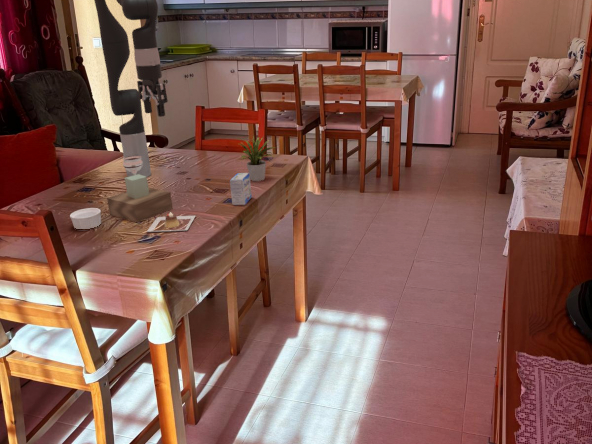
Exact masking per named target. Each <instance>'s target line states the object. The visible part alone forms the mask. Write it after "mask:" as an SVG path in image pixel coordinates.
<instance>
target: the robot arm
mask: <svg viewBox="0 0 592 444" xmlns="http://www.w3.org/2000/svg"><path fill="white" fill-rule="evenodd" d="M116 2H117V3H118V4H119V5H120V6H121V9H122V14H123V16H124V17H125V19H127V20H130V21H140V20H141V21H142V20H145V22H144V24H143V26H140V27H137V28H133V30H132V33H131V34H132V35H131V36H132V37H131V38H132V41H133V42H132V43H133V49H134V51H133V52H134V63H135V69H136V74H137V79H138V80H137V81H136V82H137V89H136V88H129V89H119V82H120V78H121V75H122V74H123V71H124V69H125V68H126V65H127V63H128V61H129V58H130V54H131V51H130V41H129V37H128V33H127V31H126V30H125V28H124V27H123V26H122V24H120V22H119V21H118V20H117V18H115V16H114V15H113V13H112V12H111V11H110V9H109V7H108V5H107V1H106V0H94V5H95V10H96V14H97V19H98V25H99V26H98V27H99V34H100V35H99V36H100V41H101V47H102V54H103V58H104V63H105V69H106V74H107V81H108V91H109V100H110V107H111V110H112V114H114V116H117V117H119V116H129V115H132V117H131V119H130V120H128V121H127V122H126V121H125V122H124V123H122V124H121V125H120V126H119V127H118V131H119V136H120V142H121V147H122V155H123V158H124V157H128V156H135V155H138V156H142V158H141V160H142V161H143V166H142V168H141V169H140V170H139V171H137V173H136V175H138V174H140V175H143V176H146V177H147V178H148V177H150V176H151V175H152V171H151V163H150V158H149V157H150V155H149V149H148V143H147V137H146V130H145V125H144V117H143V109H144V112H145V113H146V114H152V112H153V109H152V101H151V99H153V100H154V101H155V104H156V111H157V117H160V118H161V117H165V116H166V112H165V111H166V110H165V104H166V103H168V101H169V100H168V96H167V89H166V84H165V82H163V83H160V82H159V79H161V78H162V74H163V73H162V65H161V59H160V53H159V50H158V43H157V37H156V30H157V27H156V26H157V19H158V13H159V12H158V10H159V5H158V2H157V0H116ZM142 102H143V107H144V108H142ZM125 173H126V177H130V176H134V173H132V172H129V171H127V170H126V169H125Z"/></svg>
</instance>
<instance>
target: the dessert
mask: <svg viewBox="0 0 592 444" xmlns="http://www.w3.org/2000/svg"><path fill="white" fill-rule="evenodd" d="M195 218H196V215H178V216H177V215H176V214H174V213H172V212H171V211H170V212H168V213H167V214H166V216H157V217H156V218H155V220H154V221H153V222H152V224H151V225H150V226H149V228H148V229H147V230H146V232H147V233H168V232H186V231H188V230H189V228H190V227H191V225H192V223H193V221H194V219H195ZM179 220H189V221H188V223H187V225H186V227H185V228H184V229H171V228H176V227H179V226H180V221H179ZM161 221H165V222H164V228H166V230H163V229H161V230H155V228H156V227H157V226H158V224H159V223H160V222H161ZM167 228H168V229H167ZM169 228H170V229H169Z"/></svg>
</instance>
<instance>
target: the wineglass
mask: <svg viewBox="0 0 592 444" xmlns="http://www.w3.org/2000/svg"><path fill="white" fill-rule="evenodd" d="M141 158H142V156H138V155H135V156H128V157H124V156H123V158H122V160H123V163H122V165H123V167H124V169H125V171H126V170H127V171H129V172H132V173H134V175H136V173H137V171H139V170H140V169H141V168H142V166H143V161H142V160H141Z"/></svg>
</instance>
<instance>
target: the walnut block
mask: <svg viewBox="0 0 592 444" xmlns="http://www.w3.org/2000/svg"><path fill="white" fill-rule="evenodd" d="M148 189H149V195H148V196H144V197H141V198H137V199H134V198H131V197H129V196H127V191H125V192H121V193H118V194H115V195H112V196H110V197H106V201H107V206H108V207H107V208H108V210H109V215H110V216H113V217H116V218H120V219H124V220H127V221H131V222H135V223H140V222H142V221H144V220H148V219H150V218H153V217H155V216H158V215H160V214H162V213H165V212H167V211H171V210H173V209H174V208H173V201H172V195H171V191H166V190H162V189H157V188H151V187H148Z"/></svg>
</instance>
